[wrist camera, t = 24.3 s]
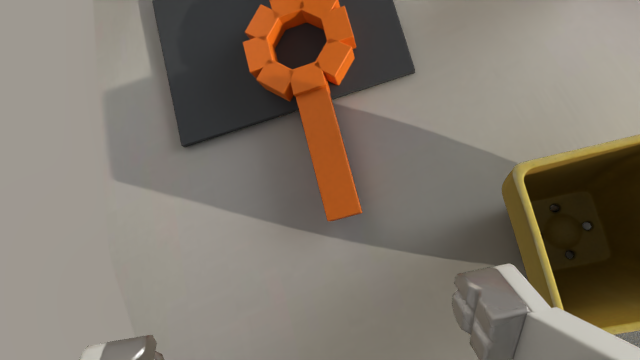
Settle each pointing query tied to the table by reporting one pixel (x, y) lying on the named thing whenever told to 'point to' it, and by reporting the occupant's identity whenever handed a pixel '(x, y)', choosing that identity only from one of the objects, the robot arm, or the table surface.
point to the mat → (232, 67)
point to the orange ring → (310, 88)
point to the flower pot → (582, 230)
